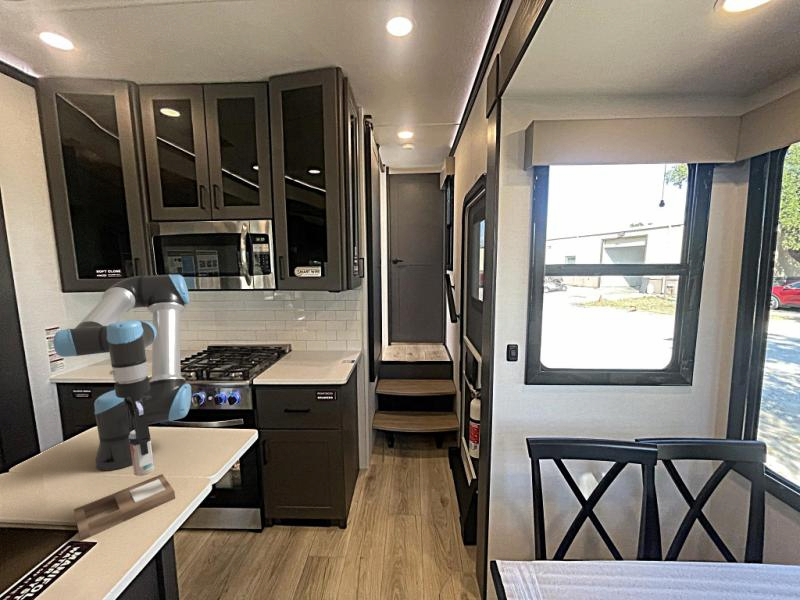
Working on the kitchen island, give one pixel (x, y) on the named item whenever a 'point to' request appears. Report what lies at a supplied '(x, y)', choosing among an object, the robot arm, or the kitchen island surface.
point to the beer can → (137, 470)
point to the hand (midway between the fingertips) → (143, 460)
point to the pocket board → (123, 505)
